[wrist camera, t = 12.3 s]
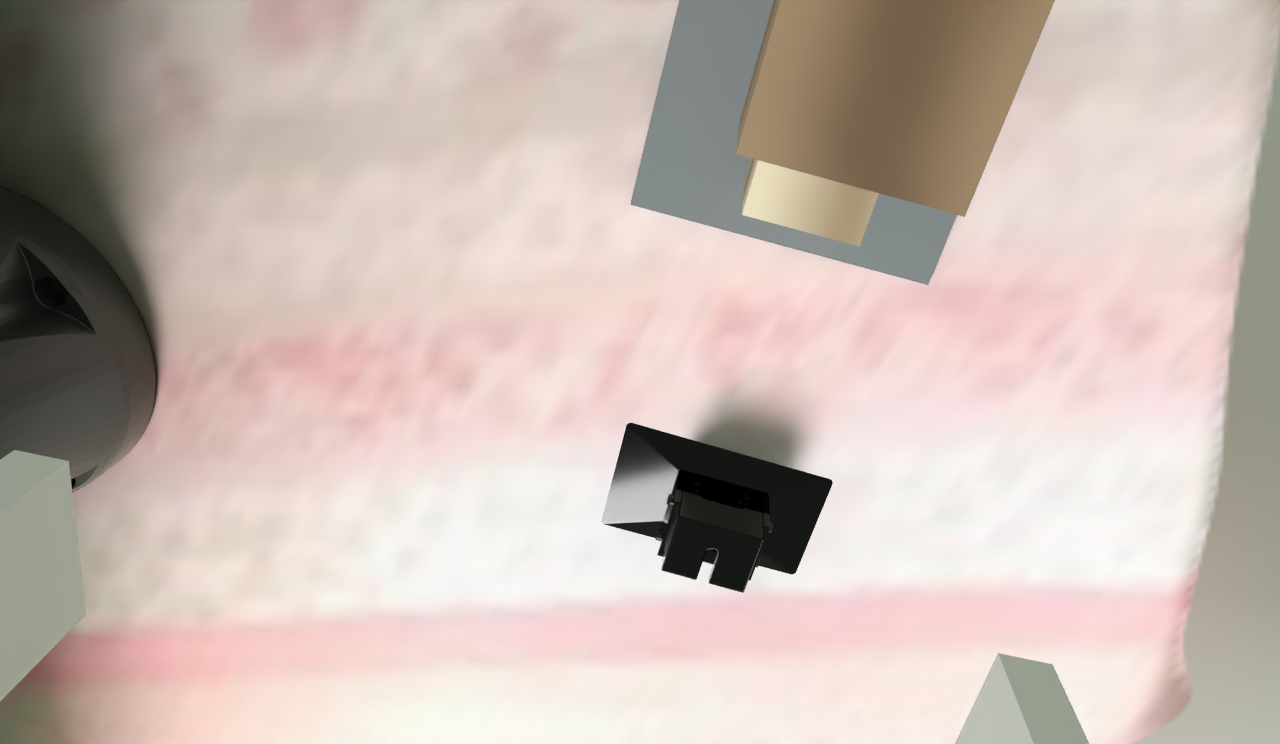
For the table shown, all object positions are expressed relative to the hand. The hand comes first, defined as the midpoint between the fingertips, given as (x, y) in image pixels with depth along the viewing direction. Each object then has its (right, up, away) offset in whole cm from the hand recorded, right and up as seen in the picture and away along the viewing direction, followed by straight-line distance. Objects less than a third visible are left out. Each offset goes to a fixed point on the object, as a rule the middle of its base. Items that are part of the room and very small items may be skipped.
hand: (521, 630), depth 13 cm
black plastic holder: (+5, -2, +28) cm, 29 cm away
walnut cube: (+8, +14, +14) cm, 21 cm away
